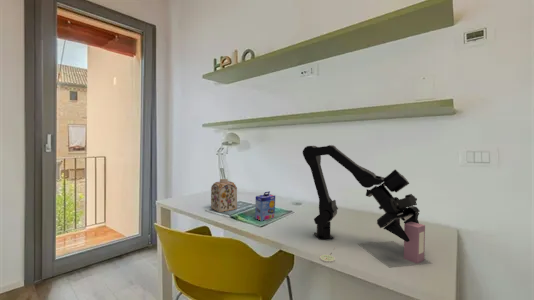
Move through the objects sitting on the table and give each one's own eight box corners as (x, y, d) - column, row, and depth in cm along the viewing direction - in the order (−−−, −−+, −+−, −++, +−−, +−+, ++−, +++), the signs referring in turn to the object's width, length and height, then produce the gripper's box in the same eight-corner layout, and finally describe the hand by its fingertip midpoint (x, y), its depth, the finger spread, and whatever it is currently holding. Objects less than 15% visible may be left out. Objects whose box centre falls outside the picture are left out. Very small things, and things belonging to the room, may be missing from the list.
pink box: (403, 258, 86) (404, 223, 86) (410, 255, 89) (411, 221, 88) (417, 263, 82) (418, 227, 82) (424, 260, 85) (425, 225, 84)
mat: (357, 244, 98) (357, 243, 98) (393, 241, 101) (393, 240, 101) (389, 268, 80) (389, 267, 80) (432, 264, 83) (432, 263, 83)
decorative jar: (210, 208, 152) (210, 178, 151) (227, 205, 159) (227, 177, 158) (219, 212, 142) (219, 181, 142) (237, 209, 149) (237, 179, 149)
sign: (343, 246, 96) (333, 262, 83) (343, 249, 96) (333, 265, 83) (329, 244, 98) (317, 258, 85) (329, 246, 98) (317, 261, 85)
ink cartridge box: (261, 221, 126) (261, 193, 126) (254, 219, 131) (254, 191, 130) (275, 218, 133) (275, 190, 133) (268, 215, 137) (268, 189, 137)
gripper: (385, 189, 84) (419, 232, 75) (414, 184, 94) (447, 221, 85) (364, 207, 91) (393, 248, 82) (393, 201, 101) (422, 237, 92)
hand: (415, 238), depth 85 cm, fingers open, 9 cm apart
